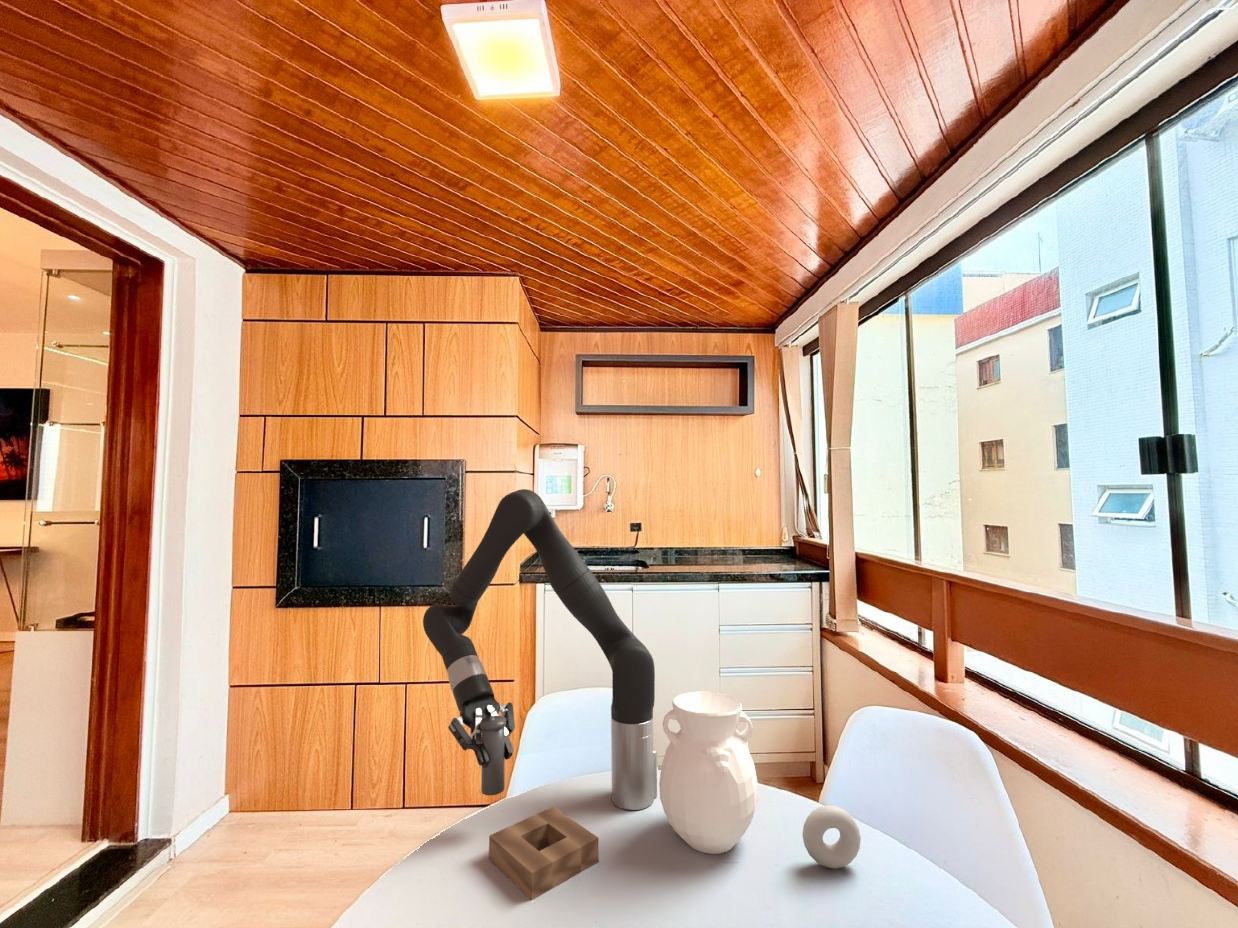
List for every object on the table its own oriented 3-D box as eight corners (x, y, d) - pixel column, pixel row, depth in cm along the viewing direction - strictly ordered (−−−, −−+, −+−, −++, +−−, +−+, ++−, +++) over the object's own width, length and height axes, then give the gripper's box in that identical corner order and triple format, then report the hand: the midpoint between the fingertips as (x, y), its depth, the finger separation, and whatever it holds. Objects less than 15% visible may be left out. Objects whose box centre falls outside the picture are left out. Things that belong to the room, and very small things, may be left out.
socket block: (552, 828, 104) (553, 806, 105) (598, 861, 94) (598, 837, 95) (488, 859, 95) (489, 835, 95) (531, 899, 85) (532, 872, 85)
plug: (498, 780, 107) (498, 713, 108) (510, 789, 103) (510, 720, 105) (475, 789, 104) (475, 720, 105) (487, 799, 100) (487, 727, 101)
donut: (807, 873, 90) (805, 811, 92) (800, 860, 94) (798, 801, 95) (866, 873, 91) (862, 811, 92) (856, 860, 94) (853, 800, 95)
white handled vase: (751, 813, 109) (747, 687, 112) (767, 872, 91) (762, 720, 93) (661, 809, 111) (659, 685, 114) (659, 866, 93) (656, 717, 95)
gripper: (442, 680, 106) (470, 763, 96) (505, 665, 116) (536, 740, 106) (431, 701, 110) (457, 783, 99) (493, 685, 119) (522, 759, 109)
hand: (498, 760), depth 103 cm, fingers closed on plug, 4 cm apart
